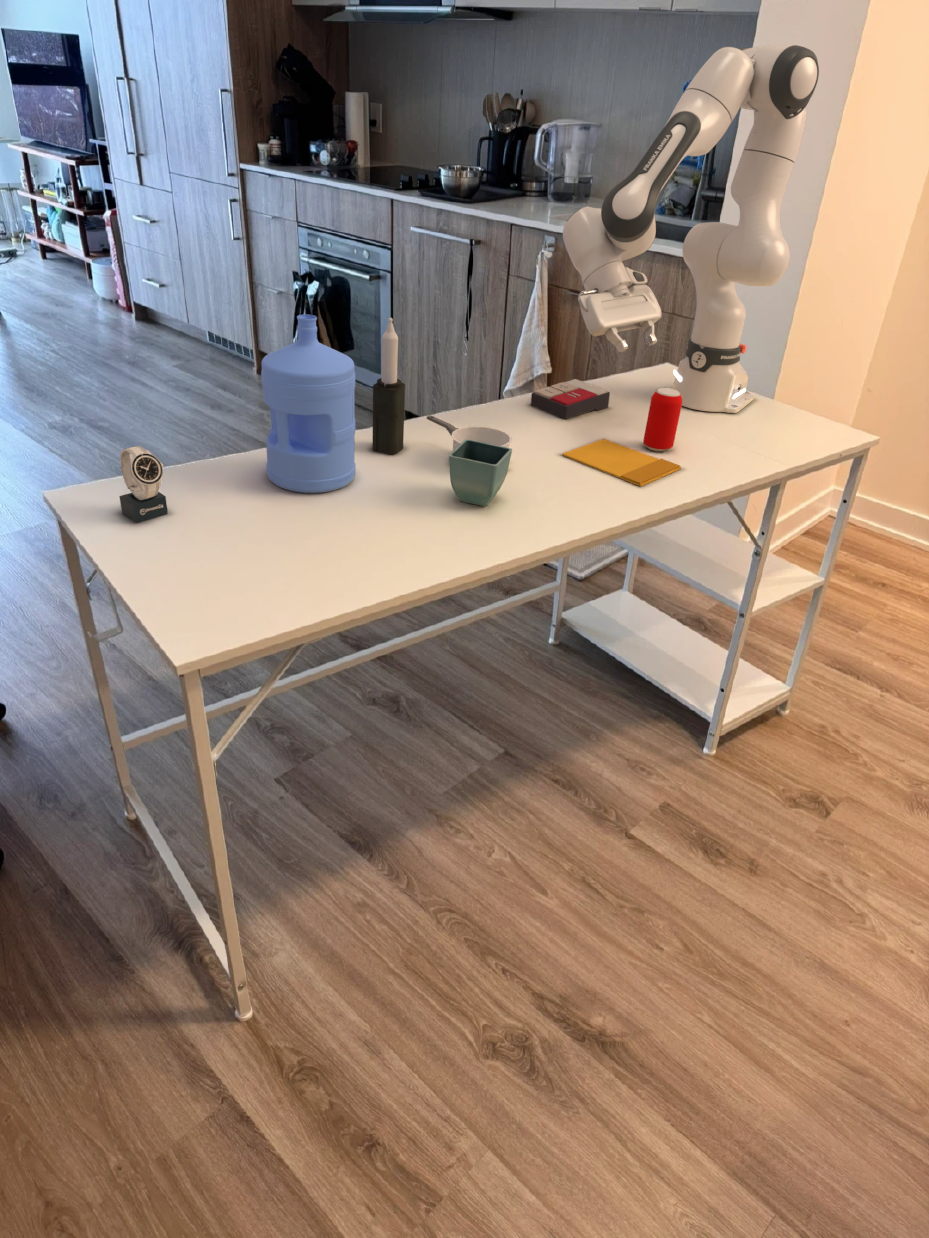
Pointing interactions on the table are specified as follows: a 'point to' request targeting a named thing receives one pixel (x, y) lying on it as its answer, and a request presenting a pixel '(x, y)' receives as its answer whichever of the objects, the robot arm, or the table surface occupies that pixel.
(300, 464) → the water jug
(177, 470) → the table surface
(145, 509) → the watch
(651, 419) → the beverage can
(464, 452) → the flower pot
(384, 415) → the candle
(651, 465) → the cloth
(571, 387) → the calculator
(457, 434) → the saucepan
